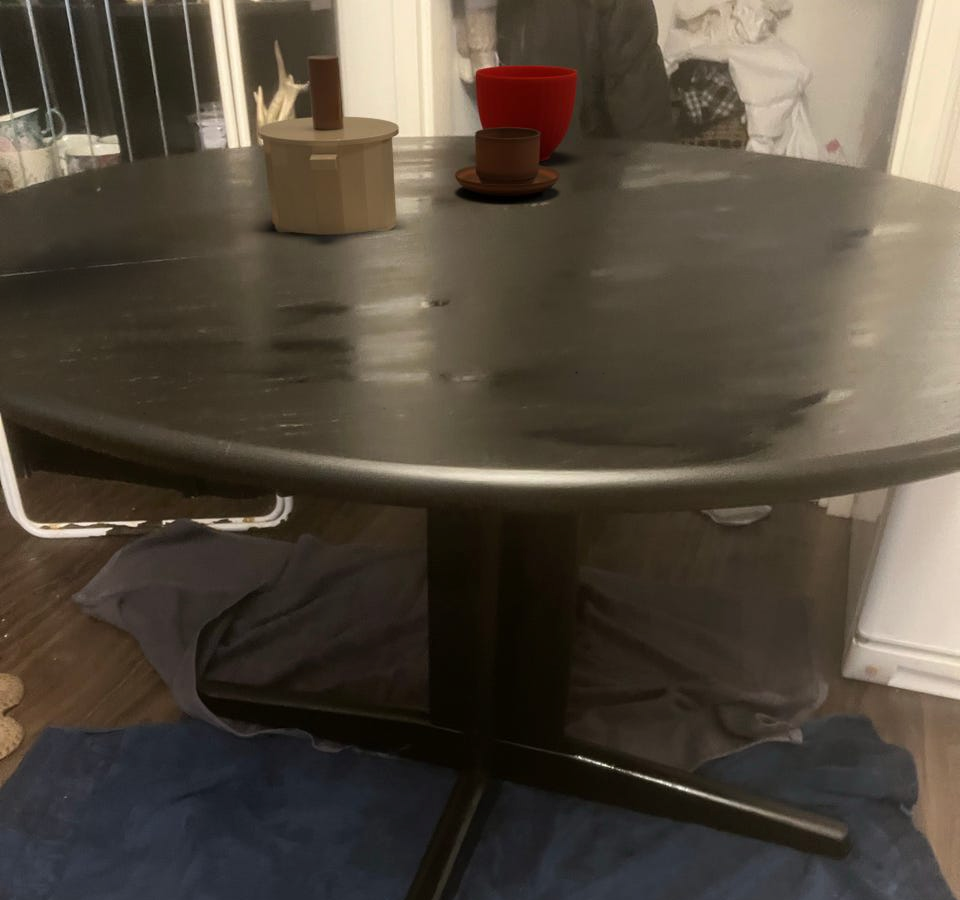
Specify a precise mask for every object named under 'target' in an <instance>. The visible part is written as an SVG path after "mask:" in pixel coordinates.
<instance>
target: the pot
mask: <svg viewBox="0 0 960 900" xmlns="http://www.w3.org/2000/svg"><path fill="white" fill-rule="evenodd" d="M393 138H394V137H392V138H389V139H386V140H382V141H377V142H371V143H364V144H355V145H341V146H298V145H286V144H278V143H273V142H268V141H265V140H263V139H262V144H263V145H262V146H263V152H264V153H263V154H264V160H265V161H264V162H265V169H266V177H267V178H266V179H267V185H268V194H269V202H270V204H269V205H270V211H271V218H272V219H271V220H272V224H273V227H274V230H275V231H277V232H278V233H295V234H296V233H298V234H306V235H317V236H318V235H320V236H321V235H324V236H325V235H350V234H359V233H367V232H371V231H373V232H374V231H376V232H377V231H378V232H381V231H391V230H392V229H394V228H395V227H396V226H397V198H396V180H395V160H394V158H395V157H394V141H393Z"/></svg>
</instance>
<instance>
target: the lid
mask: <svg viewBox="0 0 960 900" xmlns="http://www.w3.org/2000/svg"><path fill="white" fill-rule="evenodd" d="M306 66H307V76H308V85H309V87H308V88H309V97H310V99H309V100H310V108H311V117H300V118H298V117H297V118H290V119H284V120H277V121H273V122H268V123H266V124H263V125H261V126H260V127H258V128H257V136H258V138H259V139H260V140H262V141H263V140H265V141H268V142H273V143H278V144H286V145H298V146H341V145H355V144H364V143H371V142H377V141H382V140H386V139H389V138H392V137H393V138H394V137H396V136H397V135H399V133H400V127H399V125H398V124H397V123H395V122H392V121H390V120H386V119H380V118H374V117H361V116H344V112H343V97H342V86H341V84H342V83H341V72H340V71H341V70H340V58H339V56H337V55H325V54H324V55H323V54H322V55H310V56H307V57H306Z"/></svg>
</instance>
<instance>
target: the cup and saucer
mask: <svg viewBox="0 0 960 900" xmlns="http://www.w3.org/2000/svg"><path fill="white" fill-rule="evenodd" d="M474 138H475V139H474V140H475V142H474V143H475V145H474V146H475V148H474V149H475V150H474V151H475V165H471V166H466V167H463V168H460V169H458V170H457V171H455V173H454V176H455V180H456V181H457V182H458V183H459V185H460V186H461V187H463V188H464V189H466V190H469V191H471V192H473V193H477V194H482V195H488V196H495V197H519V196H528V195H533V194H537V193H542V192H544V191H546V190H549V189H550V188H552V187H553V186H554V185H555V184H556V183H557V182H558V181H559V179H560V178H559V177H560V172H558V171H557V170H556V169H554V168H551V167H548V166H543V165H540V161H539V150H540V132H539V131H537V130H533V129H528V128H517V127H498V128H487V129H483V128H482V129H479V130H477V131H475V133H474Z"/></svg>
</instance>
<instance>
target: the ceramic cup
mask: <svg viewBox="0 0 960 900" xmlns="http://www.w3.org/2000/svg"><path fill="white" fill-rule="evenodd" d="M577 83H578V71H577V70H576V69H573V68H568V67H562V66H552V65H551V66H550V65H501V66H489V67H483V68H480V69H477V70H476V71H475V95H476V102H477V104H476V105H477V111H478V112H477V113H478V117H479V122H480V125H481V128H482V129H487V128H498V127H517V128H528V129H533V130H537V131H539V132H540V150H539V162H544V161H547V160H549V159H550V157H551V155H552V154H553V153H554V152H555V151H556V149H558V147H559V146H560V144H561V143H562V141H563V140H564V138H565V136H566V134H567V132H568V129H569V127H570V124H571V121H572V117H573V114H574V108H575V102H576V94H577V87H578V86H577V85H578V84H577Z"/></svg>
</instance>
